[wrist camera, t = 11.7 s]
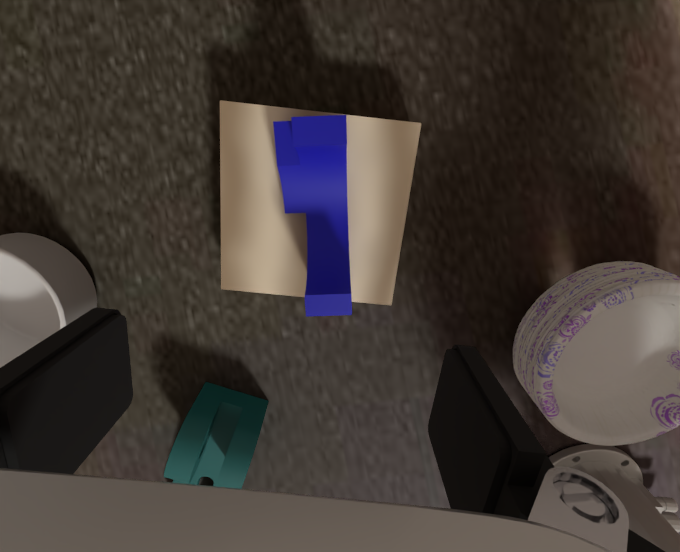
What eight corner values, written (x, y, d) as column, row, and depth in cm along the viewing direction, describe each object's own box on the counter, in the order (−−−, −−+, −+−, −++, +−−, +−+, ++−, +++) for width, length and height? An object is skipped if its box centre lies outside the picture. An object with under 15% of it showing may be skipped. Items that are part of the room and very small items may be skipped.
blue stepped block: (280, 124, 25) (263, 118, 20) (344, 121, 25) (346, 114, 20) (294, 284, 29) (283, 317, 24) (349, 282, 29) (351, 314, 24)
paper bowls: (634, 389, 38) (707, 449, 30) (488, 391, 38) (524, 452, 30) (677, 247, 33) (778, 278, 25) (508, 250, 33) (558, 282, 25)
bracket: (206, 380, 38) (173, 438, 30) (268, 399, 38) (252, 460, 31) (170, 499, 43) (135, 572, 36) (225, 513, 44) (202, 588, 37)
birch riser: (410, 126, 29) (421, 123, 25) (385, 287, 34) (391, 305, 30) (235, 106, 29) (219, 100, 25) (234, 272, 33) (221, 289, 30)
